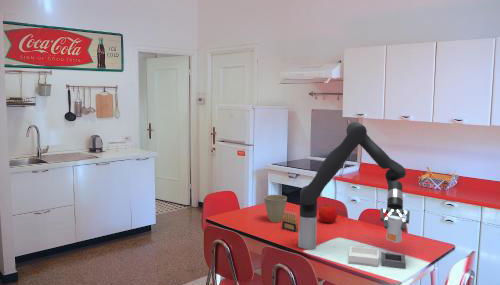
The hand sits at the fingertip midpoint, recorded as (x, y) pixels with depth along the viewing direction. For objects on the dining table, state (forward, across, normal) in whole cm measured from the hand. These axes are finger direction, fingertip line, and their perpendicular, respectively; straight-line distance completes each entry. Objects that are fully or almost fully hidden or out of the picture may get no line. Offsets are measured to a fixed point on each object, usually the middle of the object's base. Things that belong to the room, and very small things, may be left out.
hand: (394, 229), depth 206 cm
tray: (+12, -14, +14) cm, 23 cm away
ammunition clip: (-13, -59, +39) cm, 72 cm away
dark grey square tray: (+12, 0, +13) cm, 18 cm away
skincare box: (+4, 0, +6) cm, 7 cm away
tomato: (-30, -39, +56) cm, 75 cm away
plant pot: (-24, -72, +50) cm, 91 cm away
